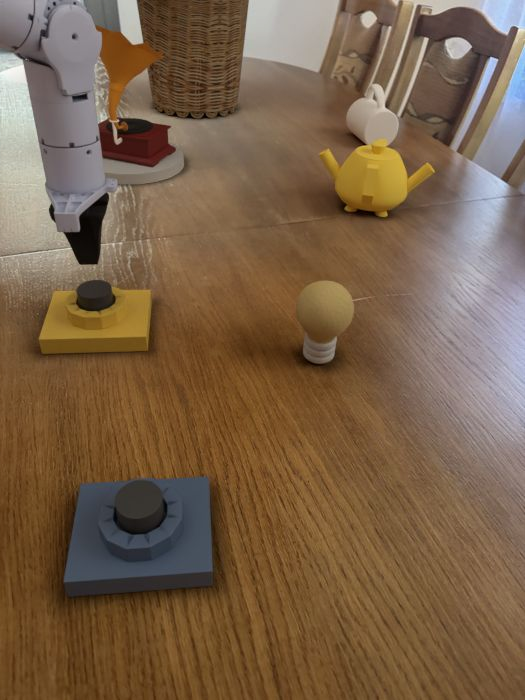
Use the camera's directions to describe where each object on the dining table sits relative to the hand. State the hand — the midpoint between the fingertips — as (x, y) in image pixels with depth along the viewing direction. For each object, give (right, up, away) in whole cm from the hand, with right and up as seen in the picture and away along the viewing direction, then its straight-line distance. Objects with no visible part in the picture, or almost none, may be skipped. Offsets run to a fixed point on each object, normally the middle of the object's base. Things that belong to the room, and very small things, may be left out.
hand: (89, 261), depth 63 cm
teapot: (+38, +16, +38) cm, 57 cm away
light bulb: (+26, -11, +4) cm, 28 cm away
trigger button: (0, -4, +4) cm, 6 cm away
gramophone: (-6, +27, +48) cm, 55 cm away
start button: (+10, -23, -18) cm, 31 cm away
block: (+10, -26, -16) cm, 32 cm away
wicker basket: (+2, +52, +80) cm, 96 cm away
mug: (+44, +38, +66) cm, 87 cm away
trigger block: (-1, -7, +6) cm, 10 cm away
